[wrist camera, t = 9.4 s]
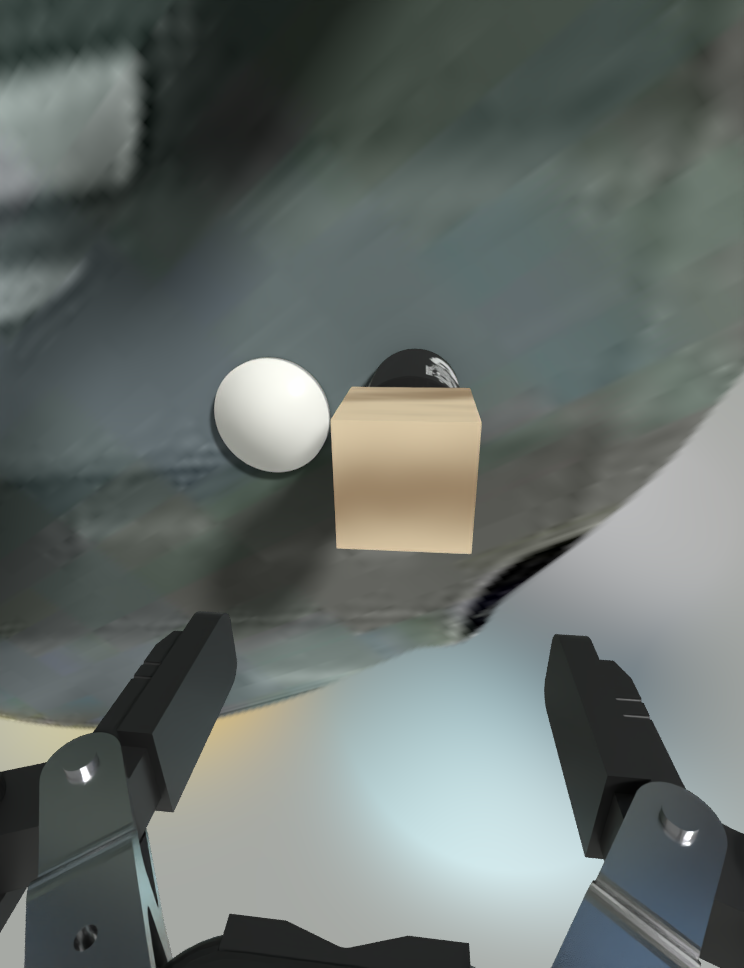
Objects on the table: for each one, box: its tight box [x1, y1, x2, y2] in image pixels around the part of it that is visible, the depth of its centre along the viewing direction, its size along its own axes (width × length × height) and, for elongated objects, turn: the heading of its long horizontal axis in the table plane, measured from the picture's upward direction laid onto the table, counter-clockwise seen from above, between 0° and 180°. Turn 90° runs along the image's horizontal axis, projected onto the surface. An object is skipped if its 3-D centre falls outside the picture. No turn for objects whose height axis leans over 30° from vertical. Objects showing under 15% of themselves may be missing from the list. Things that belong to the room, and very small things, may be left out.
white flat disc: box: [214, 357, 330, 472], centre depth 39 cm, size 9×9×1 cm
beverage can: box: [368, 349, 459, 388], centre depth 32 cm, size 7×7×12 cm
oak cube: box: [331, 387, 482, 554], centre depth 24 cm, size 6×6×6 cm
